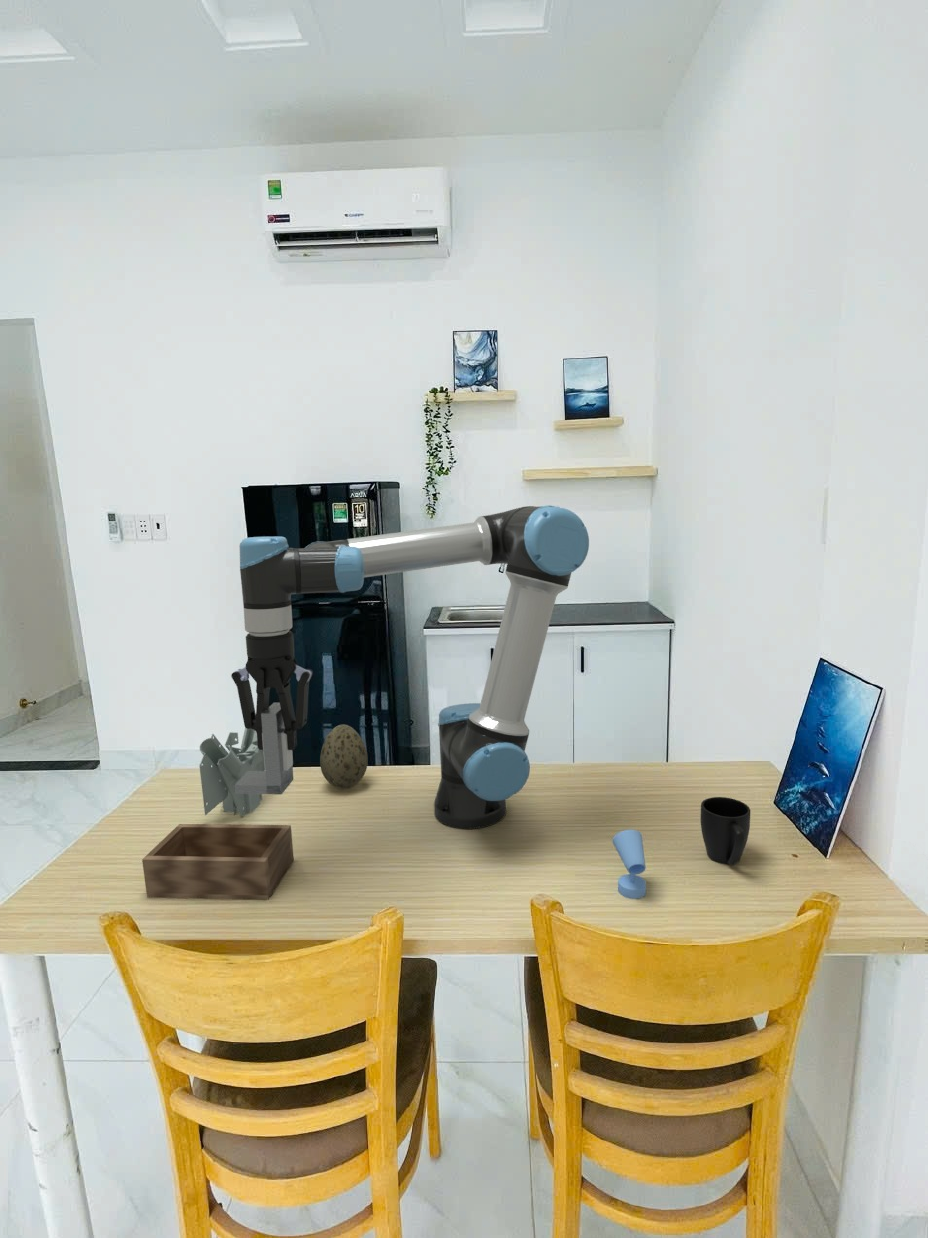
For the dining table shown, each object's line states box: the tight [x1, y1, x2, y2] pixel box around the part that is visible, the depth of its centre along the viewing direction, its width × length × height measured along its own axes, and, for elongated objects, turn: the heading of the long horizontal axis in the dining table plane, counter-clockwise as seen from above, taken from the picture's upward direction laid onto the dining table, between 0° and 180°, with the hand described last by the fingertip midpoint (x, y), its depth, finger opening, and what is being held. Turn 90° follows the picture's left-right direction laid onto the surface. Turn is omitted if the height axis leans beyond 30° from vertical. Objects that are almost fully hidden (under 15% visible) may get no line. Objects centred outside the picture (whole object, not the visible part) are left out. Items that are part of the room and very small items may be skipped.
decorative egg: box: [319, 723, 369, 790], centre depth 153 cm, size 11×11×15 cm
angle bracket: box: [234, 702, 294, 795], centre depth 113 cm, size 8×6×14 cm
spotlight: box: [612, 829, 647, 900], centre depth 110 cm, size 5×10×7 cm
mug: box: [700, 796, 752, 866], centre depth 117 cm, size 8×12×10 cm
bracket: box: [199, 728, 265, 818], centre depth 144 cm, size 28×7×20 cm, turn 170°
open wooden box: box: [141, 823, 295, 901], centre depth 118 cm, size 21×12×7 cm, turn 85°
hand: (279, 766), depth 113 cm, fingers closed on angle bracket, 2 cm apart
